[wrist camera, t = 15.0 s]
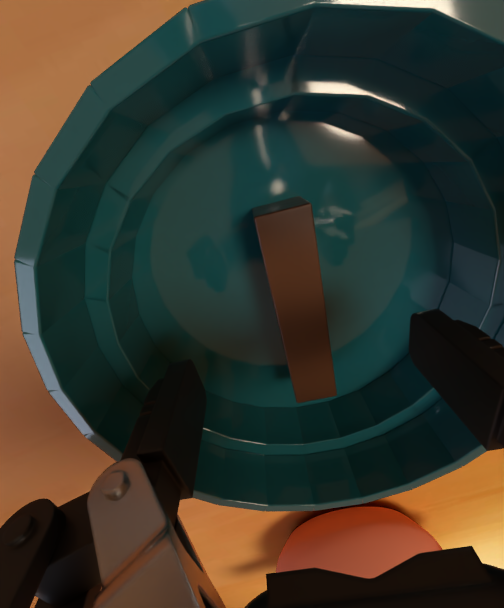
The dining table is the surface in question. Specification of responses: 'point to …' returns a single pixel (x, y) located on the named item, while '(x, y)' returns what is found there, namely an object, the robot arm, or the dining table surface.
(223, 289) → the bowl
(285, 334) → the stick
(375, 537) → the teapot
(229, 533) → the dining table surface
